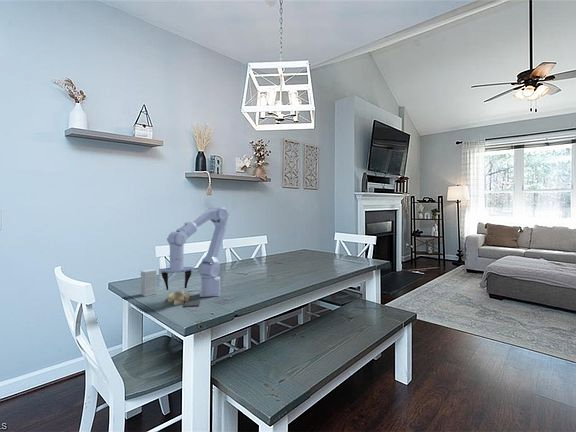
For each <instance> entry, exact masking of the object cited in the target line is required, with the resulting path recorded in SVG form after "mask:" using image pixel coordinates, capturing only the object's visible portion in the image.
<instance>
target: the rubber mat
mask: <svg viewBox="0 0 576 432" xmlns="http://www.w3.org/2000/svg"><path fill="white" fill-rule="evenodd" d="M200 304H201V299H200V300H199V299H198V300H188V301H184V304H183V308H188V307H189V308H193V307H194V308H195V307H200Z"/></svg>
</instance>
